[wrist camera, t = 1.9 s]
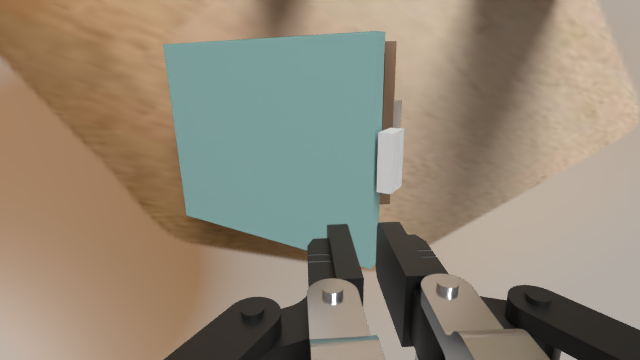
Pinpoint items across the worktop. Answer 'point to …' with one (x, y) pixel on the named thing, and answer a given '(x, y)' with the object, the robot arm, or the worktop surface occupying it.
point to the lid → (285, 135)
